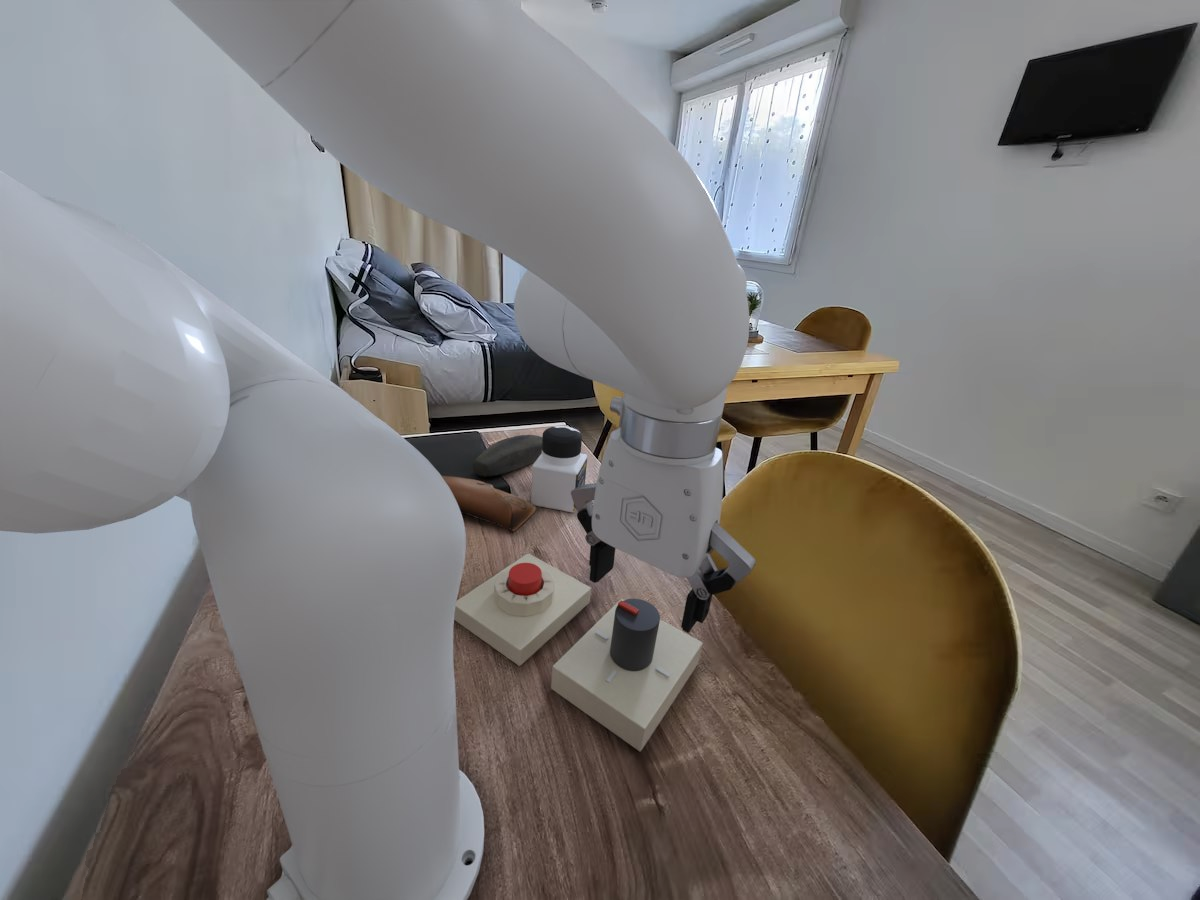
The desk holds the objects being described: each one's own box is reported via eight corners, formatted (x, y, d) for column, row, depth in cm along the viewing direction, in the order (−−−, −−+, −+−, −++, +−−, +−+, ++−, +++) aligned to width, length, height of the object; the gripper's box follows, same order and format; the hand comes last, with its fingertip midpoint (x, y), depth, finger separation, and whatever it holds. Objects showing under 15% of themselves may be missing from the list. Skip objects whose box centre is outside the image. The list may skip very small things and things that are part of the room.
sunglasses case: (540, 505, 75) (530, 481, 70) (520, 544, 71) (507, 523, 66) (445, 476, 81) (429, 452, 75) (421, 511, 77) (402, 489, 72)
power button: (525, 601, 52) (526, 588, 51) (501, 586, 53) (501, 573, 53) (547, 584, 54) (548, 571, 54) (524, 570, 56) (524, 558, 55)
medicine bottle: (574, 513, 75) (580, 443, 70) (529, 505, 76) (532, 435, 71) (584, 492, 81) (590, 426, 76) (543, 484, 82) (547, 419, 77)
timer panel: (640, 752, 41) (645, 727, 40) (550, 688, 46) (552, 664, 45) (698, 663, 51) (703, 641, 49) (618, 618, 55) (621, 596, 54)
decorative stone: (525, 443, 97) (526, 424, 95) (552, 452, 94) (553, 433, 93) (465, 474, 83) (464, 452, 81) (495, 486, 80) (495, 463, 79)
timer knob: (660, 651, 48) (668, 609, 46) (638, 679, 45) (646, 636, 42) (624, 630, 50) (630, 589, 48) (601, 655, 47) (606, 613, 44)
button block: (519, 666, 48) (520, 636, 47) (452, 619, 53) (451, 590, 51) (590, 602, 57) (593, 575, 56) (527, 566, 62) (528, 541, 61)
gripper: (551, 410, 39) (546, 578, 46) (763, 481, 30) (715, 673, 38) (604, 389, 45) (592, 541, 52) (795, 445, 36) (748, 617, 43)
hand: (644, 597), depth 45 cm, fingers open, 9 cm apart
